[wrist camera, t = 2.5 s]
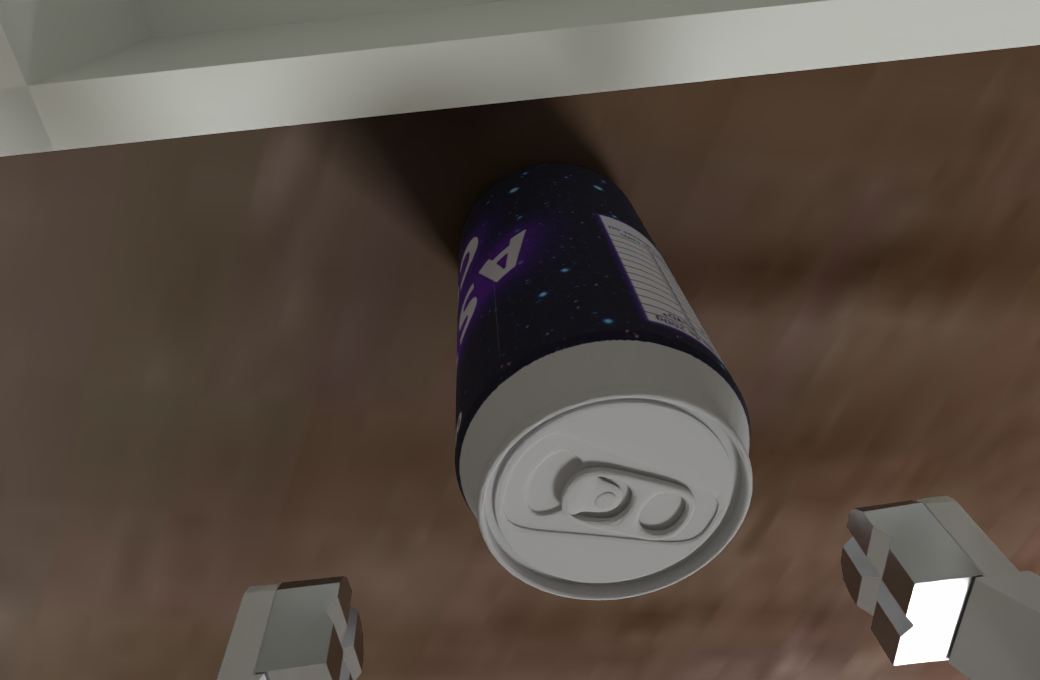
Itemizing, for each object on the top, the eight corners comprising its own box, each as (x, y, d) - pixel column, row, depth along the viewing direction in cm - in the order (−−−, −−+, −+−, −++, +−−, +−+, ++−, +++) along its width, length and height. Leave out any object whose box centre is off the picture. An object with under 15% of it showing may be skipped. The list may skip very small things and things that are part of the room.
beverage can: (492, 128, 21) (518, 331, 11) (665, 187, 22) (838, 421, 12) (437, 293, 24) (415, 585, 13) (595, 338, 25) (687, 636, 15)
